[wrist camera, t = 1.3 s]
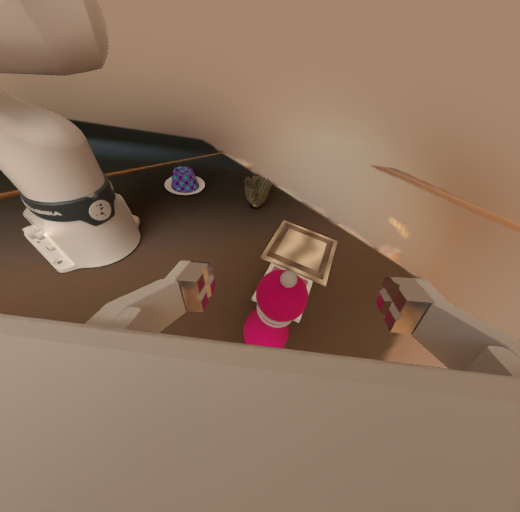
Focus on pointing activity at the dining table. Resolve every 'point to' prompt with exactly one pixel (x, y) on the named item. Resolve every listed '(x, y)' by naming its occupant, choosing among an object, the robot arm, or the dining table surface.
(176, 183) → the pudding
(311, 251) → the board
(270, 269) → the ink pad
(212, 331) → the dining table surface
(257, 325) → the pepper mill
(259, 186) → the cup
